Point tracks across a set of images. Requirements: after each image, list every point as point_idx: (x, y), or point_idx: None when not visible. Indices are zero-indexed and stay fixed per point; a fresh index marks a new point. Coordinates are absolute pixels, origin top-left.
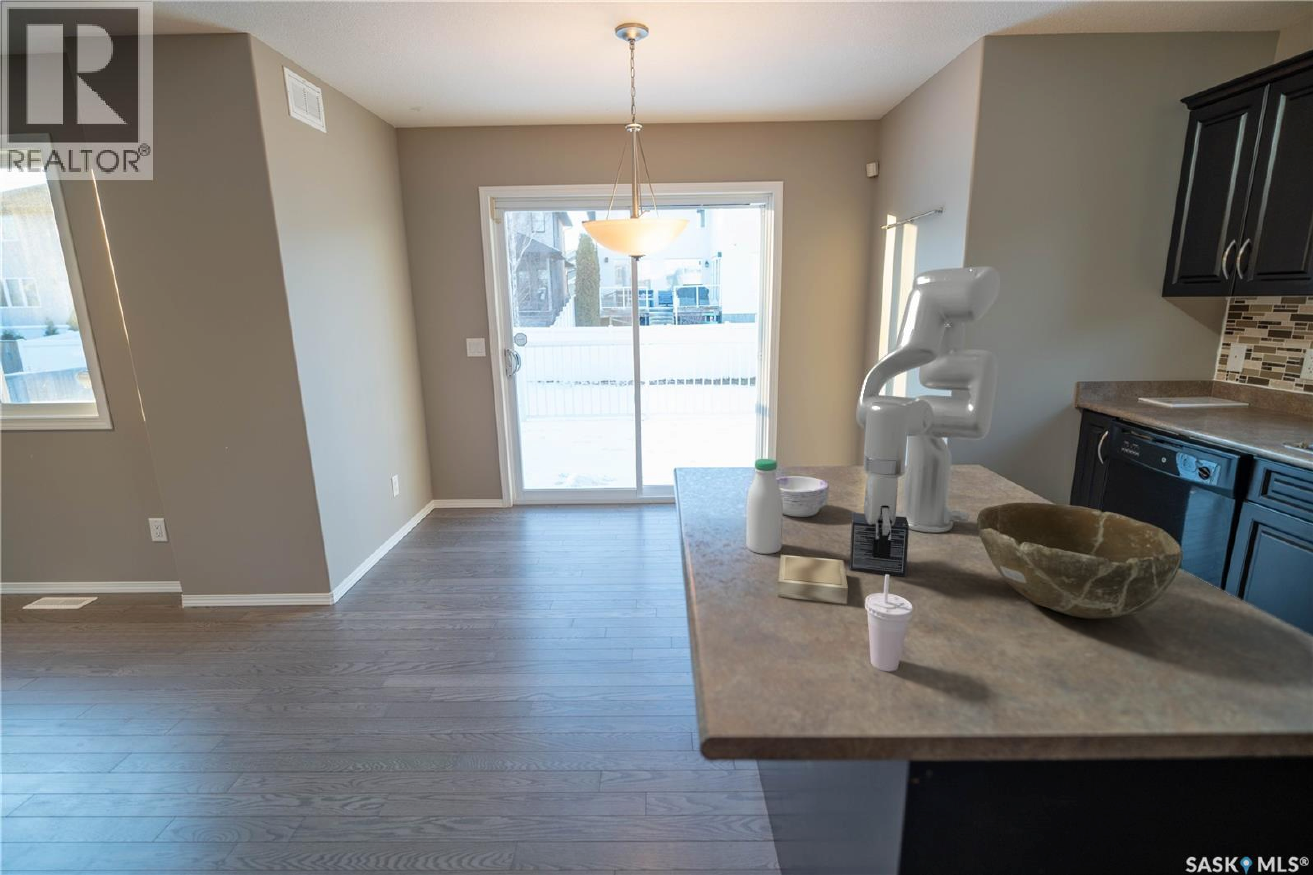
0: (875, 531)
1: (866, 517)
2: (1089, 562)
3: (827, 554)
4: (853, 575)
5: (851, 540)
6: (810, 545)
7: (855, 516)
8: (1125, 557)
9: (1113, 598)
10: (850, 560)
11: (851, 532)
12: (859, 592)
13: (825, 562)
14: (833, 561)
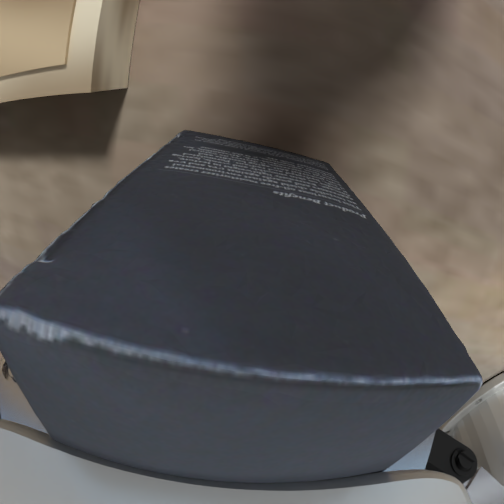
0: (16, 397)
1: (77, 488)
2: None
3: (379, 62)
4: (126, 138)
5: (157, 181)
6: (472, 30)
7: (274, 424)
8: None
9: None
10: (181, 141)
11: (221, 215)
12: (6, 149)
13: (46, 2)
14: (59, 39)
